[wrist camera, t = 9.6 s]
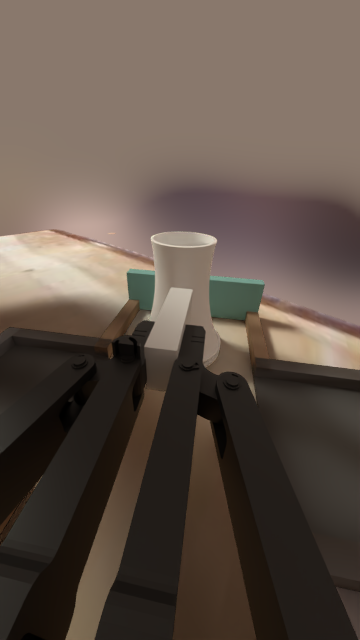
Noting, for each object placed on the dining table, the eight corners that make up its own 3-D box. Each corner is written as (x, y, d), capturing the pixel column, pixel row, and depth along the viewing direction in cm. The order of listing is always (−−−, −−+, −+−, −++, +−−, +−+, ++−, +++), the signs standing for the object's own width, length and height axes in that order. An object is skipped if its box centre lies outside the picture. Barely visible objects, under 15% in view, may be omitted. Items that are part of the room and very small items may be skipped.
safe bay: (255, 321, 27) (264, 284, 24) (130, 308, 28) (126, 272, 26) (254, 316, 28) (262, 280, 25) (133, 303, 29) (130, 268, 27)
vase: (200, 386, 18) (214, 260, 13) (123, 355, 21) (108, 241, 16) (229, 336, 24) (247, 235, 19) (165, 317, 27) (165, 224, 21)
